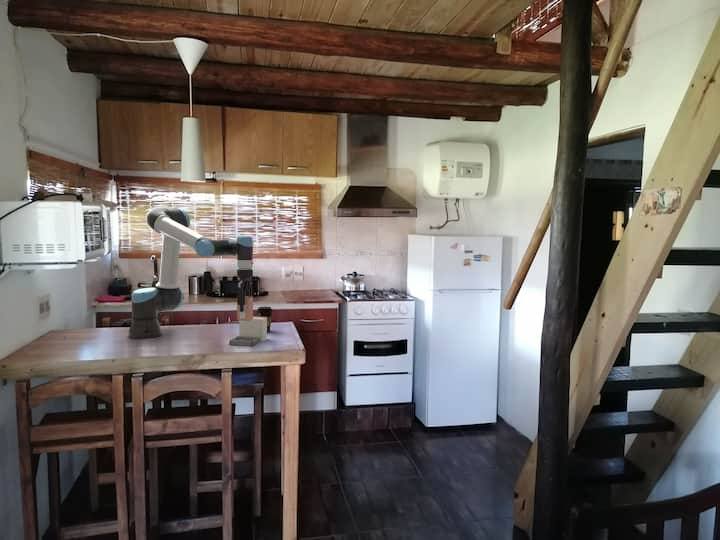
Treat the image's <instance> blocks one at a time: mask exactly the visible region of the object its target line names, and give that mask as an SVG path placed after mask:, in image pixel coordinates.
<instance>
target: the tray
mask: <svg viewBox="0 0 720 540" xmlns="http://www.w3.org/2000/svg"><path fill="white" fill-rule="evenodd" d="M259 342H260V341H259V337H246V336H239V335H237V336H235V337H232V338H231V339H229V345H230V346H240V347H241V346H242V347H253V346H255V345H256V344H258V343H259Z"/></svg>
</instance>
